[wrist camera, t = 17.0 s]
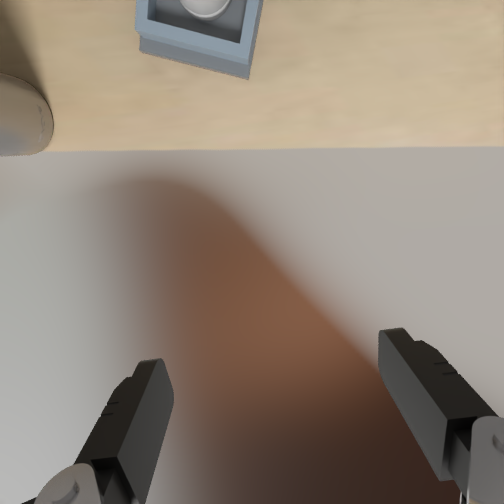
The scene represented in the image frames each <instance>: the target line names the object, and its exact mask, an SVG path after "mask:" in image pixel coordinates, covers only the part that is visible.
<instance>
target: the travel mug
mask: <svg viewBox="0 0 504 504" xmlns="http://www.w3.org/2000/svg"><path fill="white" fill-rule="evenodd" d="M231 1H232V0H180V2H181V4H182V6H183V7H184V9H185V10H186V11H187V12H188V13H189V14H190V15H191V16H192V17H194V18H196V19H198V20H201V21H213V20H215V19H218V18H219V17H221V16H222V15H223V14H224V13H225V12H226V11H227V9H228V8H229V6H230V4H231Z"/></svg>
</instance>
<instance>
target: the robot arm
mask: <svg viewBox="0 0 504 504" xmlns="http://www.w3.org/2000/svg"><path fill="white" fill-rule="evenodd" d="M52 134H53V120H52V115H51V112H50V109H49V107H48V105H47V103H46V101H45V100H44V98H43V97H42V96H41V94H40V93H39V92H38V91H37V90H36V89H35V88H34V87H33V86H31V85H30V84H28V83H27V82H26V81H24V80H21V79H19V78H17V77H13V76H10V75H6V74H3V73H0V156H20V155H21V156H23V155H32V154H36V153H38V152H40V151H42V150H43V149H44V148H45V147H46V146H47V145H48V143H49V142H50V140H51V137H52ZM378 349H379V351H378V365H379V371H380V374H381V377H382V380H383V382H384V384H385V386H386V387H387V389H388V391H389V393H390V395H391V396H392V398H393V400H394V402H395V403H396V405H397V407H398V408H399V410H400V412H401V414H402V416H403V417H404V419H405V421H406V423H407V425H408V426H409V428H410V430H411V432H412V433H413V435H414V437H415V439H416V440H417V442H418V443H419V446H420V447H421V449H422V451H423V452H424V454H425V456H426V458H427V460H428V461H429V463H430V465H431V467H432V469H433V470H434V472H435V474H436V476H437V477H438V479H439V481H443V480H453V479H454V480H455V482H456V484H457V485H458V487H459V489H460V490H461V496H460V504H504V418H501V417H499V416H498V415H497V414H496V413H495V412H494V411H493V410H492V409H491V408H490V407H489V406H488V405H487V403H486V402H485V401H484V400H483V399H482V398H481V397H480V396H479V395H478V394H477V393H476V392H475V390H474V389H473V388H472V387H471V386H470V385H469V384H468V383H467V382H466V381H465V380H464V378H463V377H462V376H461V375H460V374H458V373H457V371H456V370H455V369H454V367H452V365H451V364H449V363H448V361H447V360H446V359H445V358H444V357H443V355H442V354H441V353H440V352H439V351H438V350H437V349H435V348H434V347H432V346H430V345H429V344H427V343H425V342H424V341H422V340H420V341H414V340H413V339H412V338H411V336H410V335H409V334H408V333H407V332H406V330H405V329H403V328H394V329H386V330H380V331H379V348H378ZM173 403H174V394H173V388H172V385H171V382H170V379H169V376H168V373H167V370H166V367H165V363H164V361H163V360H162V359H161V358H160V359H152V360H144V361H140V362H139V363H138V365H137V367H136V369H135V371H134V373H133V375H132V377H127V378H125V379H124V380H123V381H122V382H121V383H120V384H119V386H117V387H116V389H115V390H114V391H113V393H112V395H111V397H110V399H109V401H108V402H107V406H105V408H104V410H103V411H102V414H101V417H99V419H98V421H97V422H96V424H95V426H94V428H93V430H92V432H91V433H90V435H89V437H88V439H87V441H86V443H85V445H84V446H83V448H82V450H81V452H80V454H79V456H78V457H77V459H76V461H75V463H74V464H73V465H72V466H70V467H67V468H66V469H64V470H62V471H61V472H59V473H58V474H57V475H55V476H54V477H53V478H52V479H51V480H50V481H49V482H48V483H47V484H46V485H45V486H44V487H43V489H42V490H41V492H40V493H39V495H38V496H37V497H36V498H33V499H31V500H29V501H27V502H24V503H22V504H145V502H146V498H147V495H148V491H149V488H150V484H151V481H152V477H153V474H154V470H155V467H156V464H157V460H158V457H159V453H160V450H161V446H162V443H163V439H164V436H165V432H166V429H167V425H168V422H169V419H170V415H171V412H172V408H173Z"/></svg>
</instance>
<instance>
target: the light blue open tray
mask: <svg viewBox="0 0 504 504" xmlns="http://www.w3.org/2000/svg"><path fill="white" fill-rule="evenodd" d="M262 5H263V0H232V1H231V4H230V6H229V8H228V9H227V11H226V12H225V13H224V14H223V15H222V16H221V17H219V18H218V19H215V20H213V21H201V20H198V19H196V18H194V17H192V16H191V15H190V14H189V13H188V12H187V11H186V10H185V9H184V7H183V6H182V4H181V2H180V0H137V1H136V17H135V30H136V31H137V32H138V33H139V34H140V47H139V50H140V51H141V52H142V53H145V54H149V55H153V56H157V57H161V58H165V59H169V60H173V61H177V62H181V63H184V64H188V65H192V66H196V67H200V68H204V69H208V70H212V71H216V72H220V73H224V74H228V75H231V76H235V77H239V78H243V79H247V80H249V74H250V69H251V64H252V58H253V53H254V48H255V42H256V37H257V32H258V26H259V21H260V16H261V10H262Z"/></svg>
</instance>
